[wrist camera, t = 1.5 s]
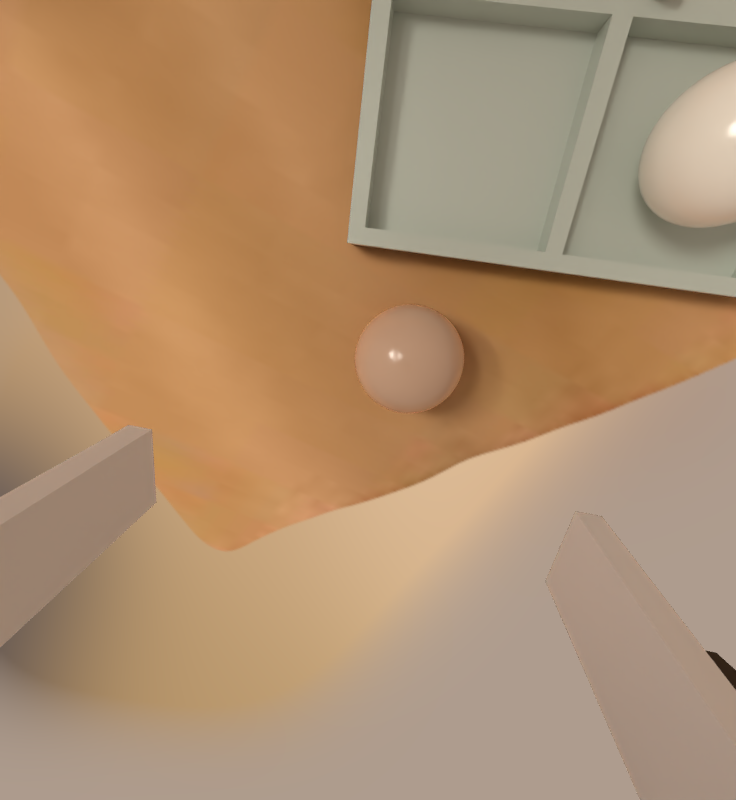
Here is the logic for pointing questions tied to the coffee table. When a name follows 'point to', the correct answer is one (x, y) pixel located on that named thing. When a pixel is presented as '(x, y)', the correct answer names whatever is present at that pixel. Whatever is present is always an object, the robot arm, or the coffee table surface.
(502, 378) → the coffee table surface
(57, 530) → the robot arm
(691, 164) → the cream egg
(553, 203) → the divided tray
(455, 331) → the pink ball
